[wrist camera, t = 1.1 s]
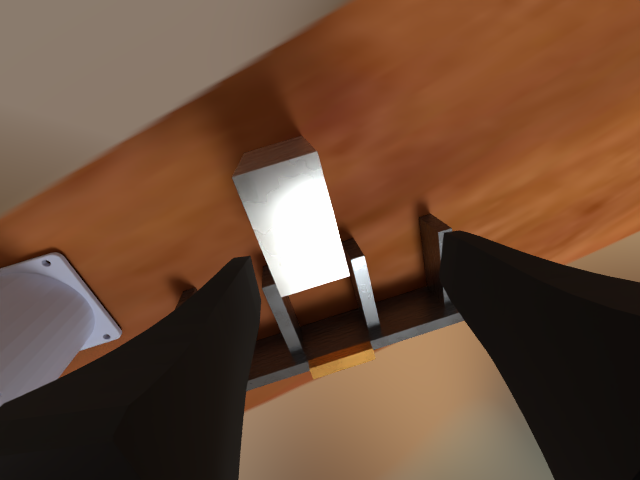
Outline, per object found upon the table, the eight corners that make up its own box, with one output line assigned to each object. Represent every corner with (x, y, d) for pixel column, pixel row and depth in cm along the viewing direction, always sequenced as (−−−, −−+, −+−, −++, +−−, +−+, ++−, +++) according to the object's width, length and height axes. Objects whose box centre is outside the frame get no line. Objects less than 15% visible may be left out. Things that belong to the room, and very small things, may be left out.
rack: (224, 360, 27) (216, 410, 22) (183, 291, 23) (163, 335, 19) (438, 292, 27) (470, 328, 23) (430, 213, 23) (467, 238, 19)
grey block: (278, 243, 22) (281, 297, 16) (244, 153, 19) (231, 177, 13) (327, 227, 23) (349, 275, 16) (301, 135, 19) (317, 151, 13)
